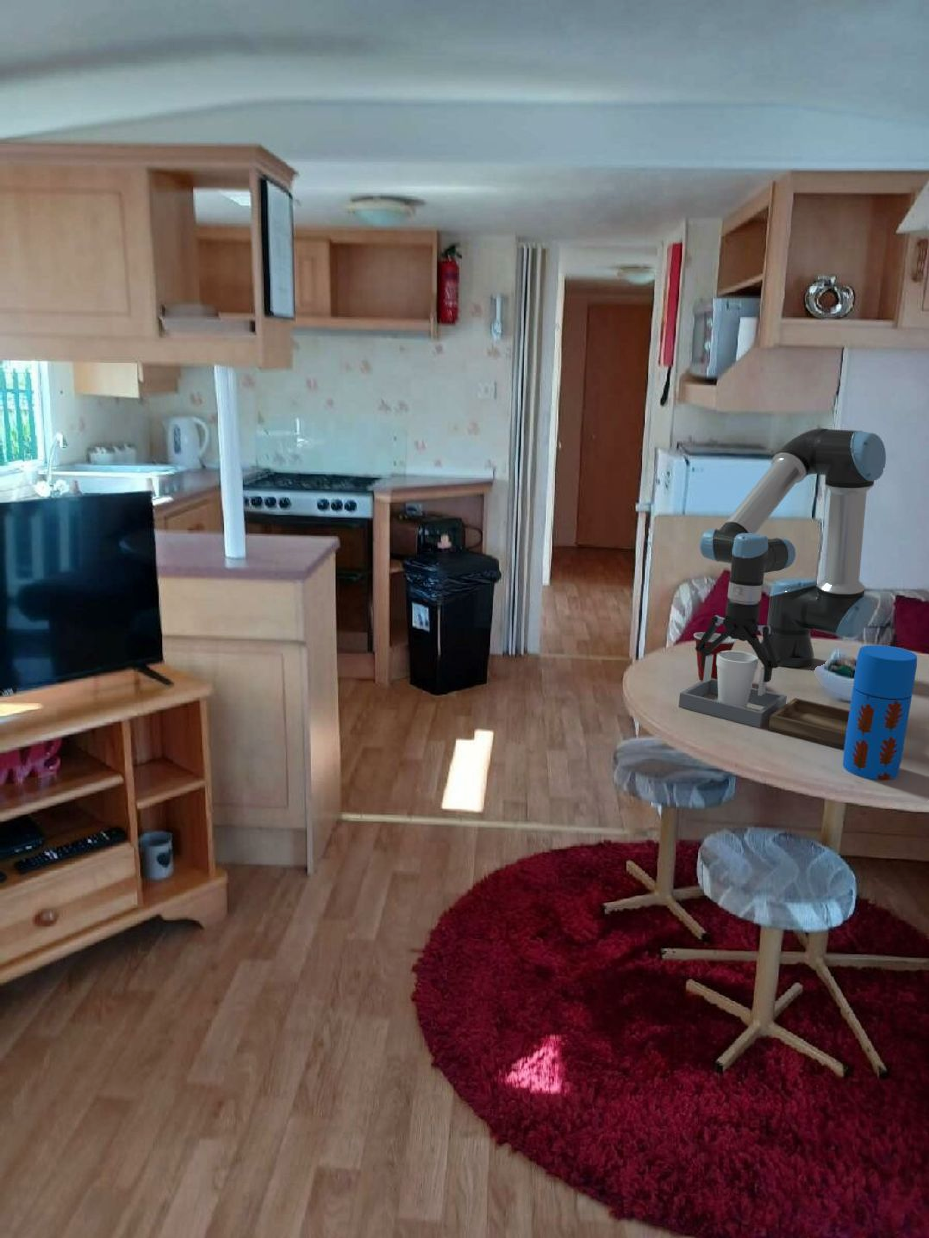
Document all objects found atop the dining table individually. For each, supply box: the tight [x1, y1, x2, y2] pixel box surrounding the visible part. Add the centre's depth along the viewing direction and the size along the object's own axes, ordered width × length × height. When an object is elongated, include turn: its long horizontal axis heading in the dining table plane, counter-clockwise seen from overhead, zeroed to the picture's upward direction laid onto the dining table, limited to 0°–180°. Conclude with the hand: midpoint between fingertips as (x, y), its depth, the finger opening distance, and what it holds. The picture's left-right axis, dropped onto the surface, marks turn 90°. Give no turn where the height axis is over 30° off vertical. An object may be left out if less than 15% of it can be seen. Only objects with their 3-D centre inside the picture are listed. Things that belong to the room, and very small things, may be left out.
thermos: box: [842, 644, 918, 781], centre depth 191 cm, size 11×11×25 cm
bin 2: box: [768, 697, 850, 751], centre depth 213 cm, size 16×20×4 cm
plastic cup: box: [693, 631, 738, 682], centre depth 246 cm, size 11×11×12 cm
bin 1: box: [678, 678, 788, 729], centre depth 226 cm, size 16×20×4 cm
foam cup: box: [716, 650, 759, 708], centre depth 225 cm, size 10×9×13 cm
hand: (733, 687), depth 225 cm, fingers open, 13 cm apart
